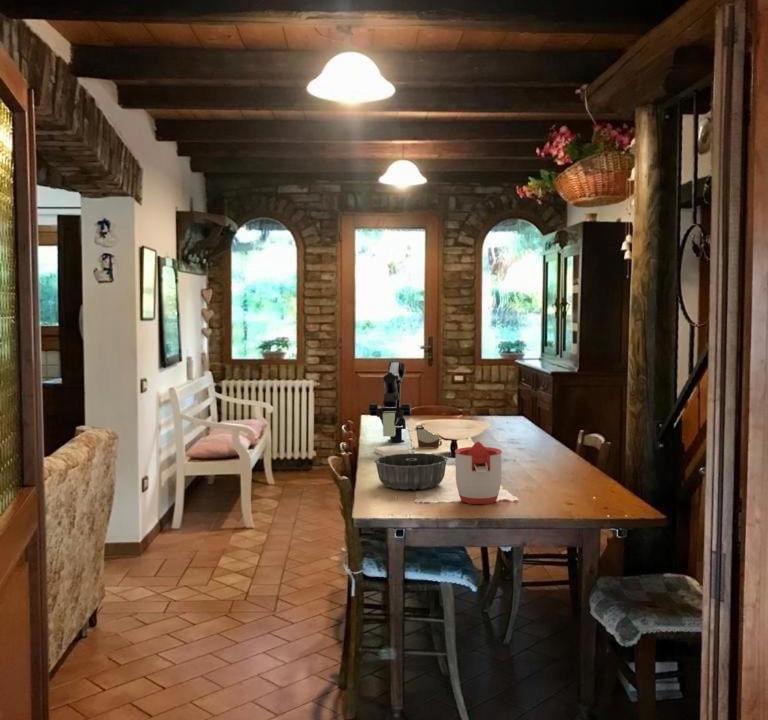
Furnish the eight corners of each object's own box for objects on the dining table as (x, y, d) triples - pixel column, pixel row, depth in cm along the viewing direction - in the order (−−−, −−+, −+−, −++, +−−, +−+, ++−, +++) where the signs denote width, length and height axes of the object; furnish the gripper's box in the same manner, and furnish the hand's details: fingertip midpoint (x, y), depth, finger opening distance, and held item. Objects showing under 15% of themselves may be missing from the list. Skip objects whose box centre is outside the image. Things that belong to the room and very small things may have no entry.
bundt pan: (364, 482, 292) (363, 456, 292) (426, 475, 303) (426, 449, 302) (394, 497, 268) (393, 468, 268) (461, 489, 279) (460, 461, 278)
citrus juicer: (458, 508, 251) (457, 447, 250) (453, 495, 269) (452, 438, 267) (506, 507, 251) (506, 446, 250) (498, 495, 269) (498, 437, 267)
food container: (442, 445, 368) (441, 424, 368) (441, 447, 362) (441, 426, 362) (416, 445, 370) (415, 424, 369) (415, 447, 363) (414, 426, 363)
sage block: (384, 434, 353) (384, 412, 352) (395, 434, 352) (395, 412, 352) (383, 436, 348) (382, 414, 347) (394, 436, 347) (394, 414, 347)
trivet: (374, 451, 354) (374, 447, 354) (398, 449, 359) (398, 445, 359) (384, 456, 343) (384, 451, 343) (409, 453, 348) (409, 449, 348)
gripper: (368, 386, 354) (366, 413, 343) (410, 386, 352) (408, 413, 341) (371, 401, 362) (368, 428, 352) (411, 401, 360) (410, 428, 350)
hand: (388, 424), depth 348 cm, fingers closed on sage block, 5 cm apart
